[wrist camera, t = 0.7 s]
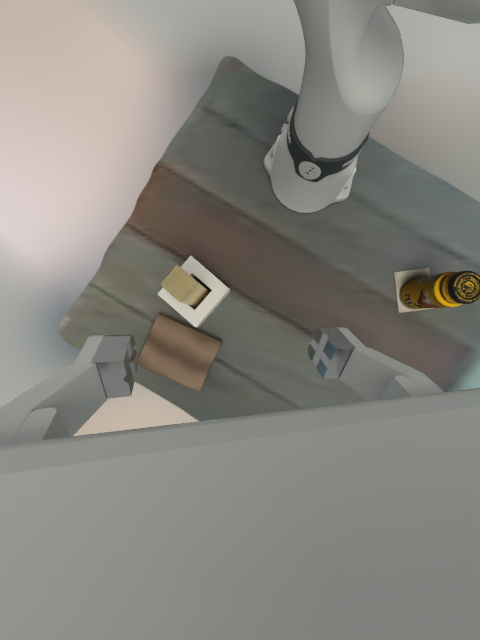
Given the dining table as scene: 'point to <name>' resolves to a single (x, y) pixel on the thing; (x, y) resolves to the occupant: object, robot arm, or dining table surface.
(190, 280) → the peg
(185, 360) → the board
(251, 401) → the dining table surface
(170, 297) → the socket block
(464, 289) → the condiment
